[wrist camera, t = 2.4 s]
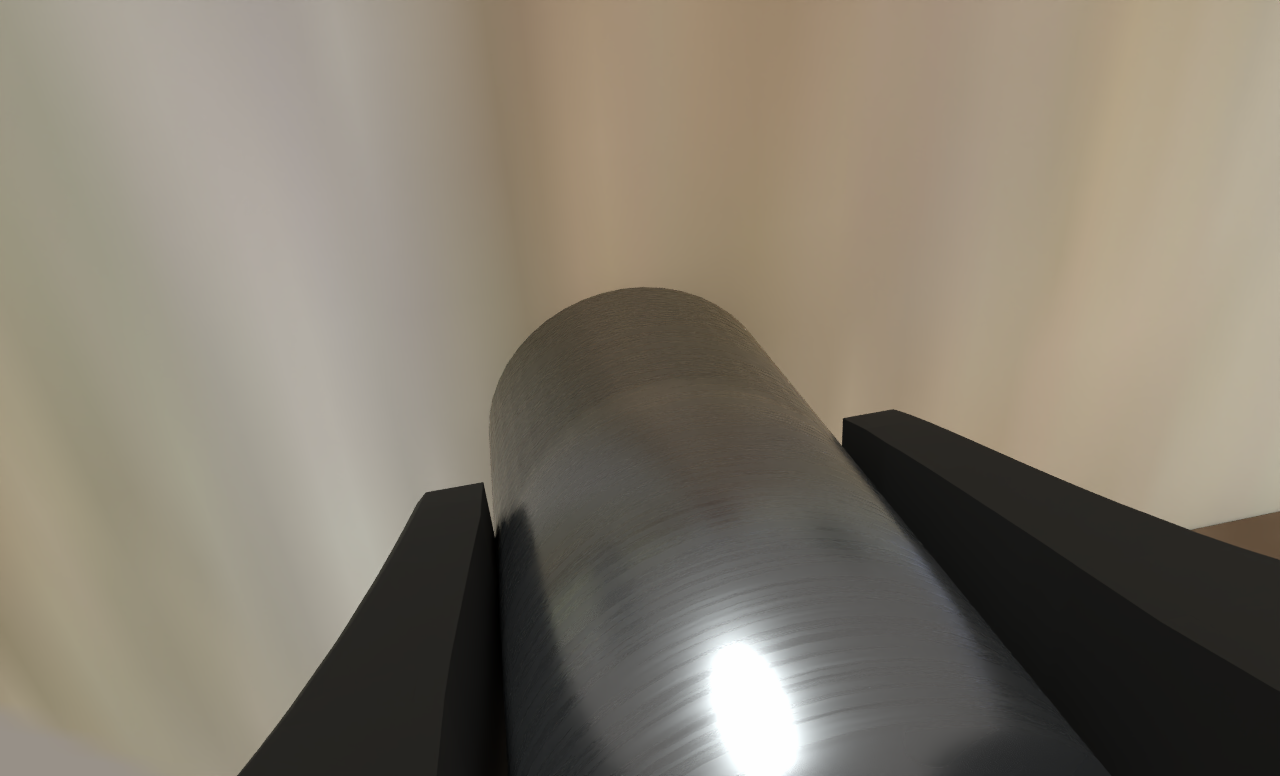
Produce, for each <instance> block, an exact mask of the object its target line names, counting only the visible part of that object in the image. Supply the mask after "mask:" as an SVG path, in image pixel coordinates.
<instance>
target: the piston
mask: <svg viewBox="0 0 1280 776" xmlns="http://www.w3.org/2000/svg"><path fill="white" fill-rule="evenodd" d="M489 441H490V459H491V477H492V495H493V513H494V531H495V548H496V566H497V584H498V604H499V622H500V641H501V659H502V677H503V695H504V713H505V731H506V750H507V768H508V776H1111V775H1110V774H1109V772H1108V771H1107V770H1106V769H1105V768H1104V766H1103V765H1102V764H1101V763H1100V761H1099V760H1098V759H1097V758H1096V756H1095V755H1094V754H1093V753H1092V752H1091V750H1090V749H1089V748H1088V747H1087V745H1086V744H1085V743H1084V742H1083V741H1082V739H1081V738H1080V737H1079V736H1078V734H1077V733H1076V732H1075V731H1074V730H1073V728H1072V727H1071V726H1070V725H1069V723H1068V722H1067V721H1066V720H1065V719H1064V717H1063V716H1062V715H1061V714H1060V712H1059V711H1058V710H1057V709H1056V708H1055V706H1054V705H1053V704H1052V703H1051V701H1050V700H1049V699H1048V698H1047V696H1046V695H1045V694H1044V693H1043V692H1042V690H1041V689H1040V688H1039V687H1038V685H1037V684H1036V683H1035V682H1034V681H1033V679H1032V678H1031V677H1030V676H1029V674H1028V673H1027V672H1026V671H1025V670H1024V668H1023V667H1022V666H1021V665H1020V663H1019V662H1018V661H1017V660H1016V659H1015V657H1014V656H1013V655H1012V654H1011V652H1010V651H1009V650H1008V649H1007V647H1006V646H1005V645H1004V644H1003V643H1002V641H1001V640H1000V639H999V638H998V636H997V635H996V634H995V633H994V632H993V630H992V629H991V628H990V627H989V625H988V624H987V623H986V622H985V621H984V619H983V618H982V617H981V616H980V614H979V613H978V612H977V611H976V610H975V608H974V607H973V606H972V605H971V603H970V602H969V601H968V600H967V599H966V597H965V596H964V595H963V594H962V592H961V591H960V590H959V589H958V587H957V586H956V585H955V584H954V583H953V581H952V580H951V579H950V578H949V576H948V575H947V574H946V573H945V572H944V570H943V569H942V568H941V567H940V565H939V564H938V563H937V562H936V561H935V559H934V558H933V557H932V556H931V554H930V553H929V552H928V551H927V550H926V548H925V547H924V546H923V545H922V543H921V542H920V541H919V540H918V539H917V537H916V536H915V535H914V534H913V532H912V531H911V530H910V529H909V527H908V526H907V525H906V524H905V523H904V521H903V520H902V519H901V518H900V516H899V515H898V514H897V513H896V512H895V510H894V509H893V508H892V507H891V505H890V504H889V503H888V502H887V501H886V499H885V498H884V497H883V496H882V494H881V493H880V492H879V491H878V490H877V488H876V487H875V486H874V485H873V483H872V482H871V481H870V480H869V479H868V477H867V476H866V475H865V474H864V472H863V471H862V470H861V469H860V467H859V466H858V465H857V464H856V463H855V461H854V460H853V459H852V458H851V456H850V455H849V454H848V453H847V452H846V450H845V449H844V448H843V447H842V445H841V444H840V443H839V442H838V441H837V439H836V438H835V437H834V436H833V434H832V433H831V432H830V431H829V430H828V428H827V427H826V426H825V425H824V423H823V422H822V421H821V420H820V419H819V417H818V416H817V415H816V414H815V412H814V411H813V410H812V409H811V408H810V406H809V405H808V404H807V403H806V401H805V400H804V399H803V398H802V396H801V395H800V394H799V393H798V392H797V390H796V389H795V388H794V387H793V385H792V384H791V383H790V382H789V381H788V379H787V378H786V377H785V376H784V374H783V373H782V372H781V371H780V370H779V368H778V367H777V366H776V365H775V363H774V362H773V361H772V360H771V359H770V357H769V356H768V355H767V354H766V352H765V351H764V350H763V349H762V348H761V346H760V345H759V344H758V343H757V341H756V340H755V339H754V338H753V336H752V335H751V334H750V333H749V332H748V330H747V329H746V328H745V327H744V326H743V325H742V324H741V323H740V322H739V321H738V320H736V319H735V318H734V317H733V316H732V315H731V314H729V313H728V312H726V311H725V310H723V309H722V308H720V307H719V306H717V305H715V304H713V303H711V302H709V301H707V300H705V299H703V298H701V297H698V296H695V295H692V294H688V293H685V292H682V291H676V290H671V289H665V288H648V287H640V288H629V289H620V290H616V291H611V292H606V293H602V294H599V295H596V296H593V297H590V298H587V299H585V300H582V301H580V302H578V303H576V304H574V305H572V306H570V307H568V308H566V309H564V310H562V311H561V312H559V313H558V314H556V315H555V316H553V317H552V318H550V319H549V320H547V321H546V322H545V323H544V324H542V325H541V326H540V327H539V328H538V329H536V330H535V331H534V332H533V333H532V334H531V335H530V336H529V337H528V338H527V339H526V340H525V342H524V343H523V344H522V345H521V346H520V347H519V348H518V349H517V351H516V352H515V354H514V355H513V357H512V358H511V360H510V361H509V363H508V364H507V366H506V368H505V370H504V372H503V374H502V376H501V378H500V380H499V382H498V385H497V388H496V391H495V394H494V397H493V401H492V406H491V412H490V421H489Z"/></svg>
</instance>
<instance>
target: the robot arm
mask: <svg viewBox="0 0 1280 776" xmlns="http://www.w3.org/2000/svg"><path fill="white" fill-rule="evenodd" d="M842 447H843V448H844V449H845V450H846V452H847V453H848V454H849V455H850V456H851V458H852V459H853V460H854V461H855V463H856V464H857V465H858V466H859V467H860V469H861V470H862V471H863V472H864V474H865V475H866V476H867V477H868V479H869V480H870V481H871V482H872V483H873V485H874V486H875V487H876V488H877V490H878V491H879V492H880V493H881V494H882V496H883V497H884V498H885V499H886V501H887V502H888V503H889V504H890V505H891V507H892V508H893V509H894V510H895V512H896V513H897V514H898V515H899V516H900V518H901V519H902V520H903V521H904V523H905V524H906V525H907V526H908V527H909V529H910V530H911V531H912V532H913V534H914V535H915V536H916V537H917V539H918V540H919V541H920V542H921V543H922V545H923V546H924V547H925V548H926V550H927V551H928V552H929V553H930V554H931V556H932V557H933V558H934V559H935V561H936V562H937V563H938V564H939V565H940V567H941V568H942V569H943V570H944V572H945V573H946V574H947V575H948V576H949V578H950V579H951V580H952V581H953V583H954V584H955V585H956V586H957V587H958V589H959V590H960V591H961V592H962V594H963V595H964V596H965V597H966V599H967V600H968V601H969V602H970V603H971V605H972V606H973V607H974V608H975V610H976V611H977V612H978V613H979V614H980V616H981V617H982V618H983V619H984V621H985V622H986V623H987V624H988V625H989V627H990V628H991V629H992V630H993V632H994V633H995V634H996V635H997V636H998V638H999V639H1000V640H1001V641H1002V643H1003V644H1004V645H1005V646H1006V647H1007V649H1008V650H1009V651H1010V652H1011V654H1012V655H1013V656H1014V657H1015V659H1016V660H1017V661H1018V662H1019V663H1020V665H1021V666H1022V667H1023V668H1024V670H1025V671H1026V672H1027V673H1028V674H1029V676H1030V677H1031V678H1032V679H1033V681H1034V682H1035V683H1036V684H1037V685H1038V687H1039V688H1040V689H1041V690H1042V692H1043V693H1044V694H1045V695H1046V696H1047V698H1048V699H1049V700H1050V701H1051V703H1052V704H1053V705H1054V706H1055V708H1056V709H1057V710H1058V711H1059V712H1060V714H1061V715H1062V716H1063V717H1064V719H1065V720H1066V721H1067V722H1068V723H1069V725H1070V726H1071V727H1072V728H1073V730H1074V731H1075V732H1076V733H1077V734H1078V736H1079V737H1080V738H1081V739H1082V741H1083V742H1084V743H1085V744H1086V745H1087V747H1088V748H1089V749H1090V750H1091V752H1092V753H1093V754H1094V755H1095V756H1096V758H1097V759H1098V760H1099V761H1100V763H1101V764H1102V765H1103V766H1104V768H1105V769H1106V770H1107V771H1108V772H1109V774H1110V775H1111V776H1280V560H1279V559H1276V558H1272V557H1269V556H1266V555H1263V554H1260V553H1257V552H1253V551H1250V550H1247V549H1244V548H1241V547H1237V546H1234V545H1232V544H1229V543H1226V542H1223V541H1220V540H1217V539H1214V538H1211V537H1208V536H1205V535H1202V534H1200V533H1197V532H1194V531H1191V530H1188V529H1186V528H1183V527H1180V526H1178V525H1175V524H1173V523H1170V522H1167V521H1165V520H1162V519H1159V518H1157V517H1154V516H1151V515H1149V514H1146V513H1143V512H1141V511H1138V510H1136V509H1133V508H1130V507H1128V506H1125V505H1122V504H1120V503H1117V502H1115V501H1112V500H1110V499H1107V498H1105V497H1102V496H1100V495H1097V494H1095V493H1093V492H1090V491H1088V490H1085V489H1083V488H1080V487H1078V486H1076V485H1073V484H1071V483H1068V482H1066V481H1064V480H1061V479H1059V478H1056V477H1054V476H1052V475H1050V474H1047V473H1045V472H1043V471H1040V470H1038V469H1036V468H1033V467H1031V466H1029V465H1026V464H1024V463H1022V462H1019V461H1017V460H1015V459H1013V458H1010V457H1008V456H1006V455H1003V454H1001V453H999V452H997V451H994V450H992V449H990V448H988V447H985V446H983V445H981V444H978V443H976V442H974V441H972V440H969V439H967V438H965V437H963V436H960V435H958V434H956V433H953V432H951V431H949V430H946V429H944V428H942V427H939V426H937V425H935V424H932V423H930V422H927V421H925V420H922V419H920V418H917V417H914V416H912V415H909V414H906V413H903V412H900V411H897V410H894V409H893V410H887V411H881V412H876V413H870V414H864V415H859V416H853V417H848V418H843V433H842ZM237 776H508V768H507V750H506V731H505V713H504V695H503V677H502V659H501V641H500V622H499V604H498V584H497V566H496V548H495V536H494V531H493V526H492V521H491V517H490V512H489V507H488V502H487V498H486V493H485V488H484V483H483V482H482V483H476V484H471V485H465V486H459V487H454V488H448V489H443V490H437V491H431V492H426V493H425V494H424V496H423V497H422V498H421V499H420V501H419V502H418V503H417V505H416V507H415V509H414V511H413V513H412V514H411V516H410V518H409V520H408V522H407V524H406V526H405V528H404V530H403V531H402V533H401V535H400V537H399V539H398V541H397V542H396V544H395V546H394V548H393V550H392V551H391V553H390V555H389V557H388V558H387V560H386V562H385V564H384V565H383V567H382V569H381V570H380V572H379V574H378V576H377V577H376V579H375V581H374V582H373V584H372V586H371V587H370V589H369V590H368V592H367V594H366V595H365V597H364V598H363V600H362V602H361V603H360V605H359V606H358V608H357V610H356V611H355V613H354V614H353V616H352V618H351V619H350V621H349V623H348V624H347V626H346V627H345V629H344V631H343V632H342V634H341V635H340V637H339V638H338V640H337V641H336V643H335V644H334V646H333V647H332V649H331V650H330V651H329V653H328V654H327V656H326V657H325V659H324V660H323V661H322V663H321V664H320V666H319V667H318V669H317V670H316V671H315V673H314V674H313V676H312V677H311V678H310V680H309V681H308V683H307V684H306V686H305V687H304V688H303V690H302V691H301V693H300V694H299V696H298V697H297V698H296V700H295V701H294V703H293V704H292V705H291V707H290V708H289V710H288V711H287V712H286V714H285V715H284V716H283V718H282V719H281V721H280V722H279V723H278V724H277V726H276V727H275V728H274V730H273V731H272V732H271V734H270V735H269V736H268V737H267V739H266V740H265V741H264V743H263V744H262V745H261V747H260V748H259V749H258V750H257V752H256V753H255V754H254V755H253V757H252V758H251V759H250V761H249V762H248V763H247V764H246V766H245V767H244V768H243V769H242V771H241V772H240V773H239V774H238V775H237Z"/></svg>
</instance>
